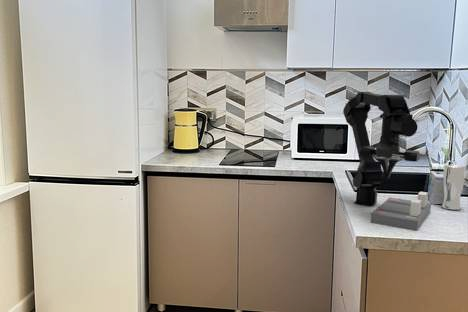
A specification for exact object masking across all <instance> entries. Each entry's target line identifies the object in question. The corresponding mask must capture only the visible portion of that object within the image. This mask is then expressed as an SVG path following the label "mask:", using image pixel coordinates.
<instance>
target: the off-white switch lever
mask: <svg viewBox="0 0 468 312" xmlns="http://www.w3.org/2000/svg"><path fill="white" fill-rule="evenodd" d="M410 201H411V207H410V216H416V217H418V216H419V215H420V211H421V200H418V199H416V198H415V199H414V198H413V199H412V200H410Z"/></svg>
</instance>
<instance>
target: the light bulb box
mask: <svg viewBox="0 0 468 312" xmlns="http://www.w3.org/2000/svg"><path fill="white" fill-rule="evenodd" d="M443 172H444V171H436V170H430V171H429V180H428V188H427V193H428V196H427V200H429V203H432V204H431V205H434V204H442V203H443V199H444V191H443Z"/></svg>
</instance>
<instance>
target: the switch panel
mask: <svg viewBox="0 0 468 312" xmlns="http://www.w3.org/2000/svg"><path fill="white" fill-rule="evenodd" d="M411 201H412V200H409V199H403V198H402V199H401V198H397V197H396V198H395V197H388V198H387V199H386V200H385V201H384V202H383V203H381V204H380V205H379V206H378V207H377V208H376V209H374V211H372V212H371V213H370V214H371V216H370V223H372V222H373V224H379V225H385V226H390V227H395V228H396V227H397V228H401V229H407V230H413V231H418V230H419V229H420V227H421V226H422V224H423V223H424V221H425V220H426V218H427V217H428V216H429V215H430V213H431V210H432V209H431V208H432V204H431V202H427V205H426V207H425V208H422V207H421V211H420V215H419V216H418V217H416V216H410V207H411Z"/></svg>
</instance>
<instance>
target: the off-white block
mask: <svg viewBox="0 0 468 312" xmlns="http://www.w3.org/2000/svg"><path fill="white" fill-rule="evenodd" d="M417 200H421V207H422V208H425V207H426V205H427V203H428V191H427V192H425V191H419V192H418V194H417Z"/></svg>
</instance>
